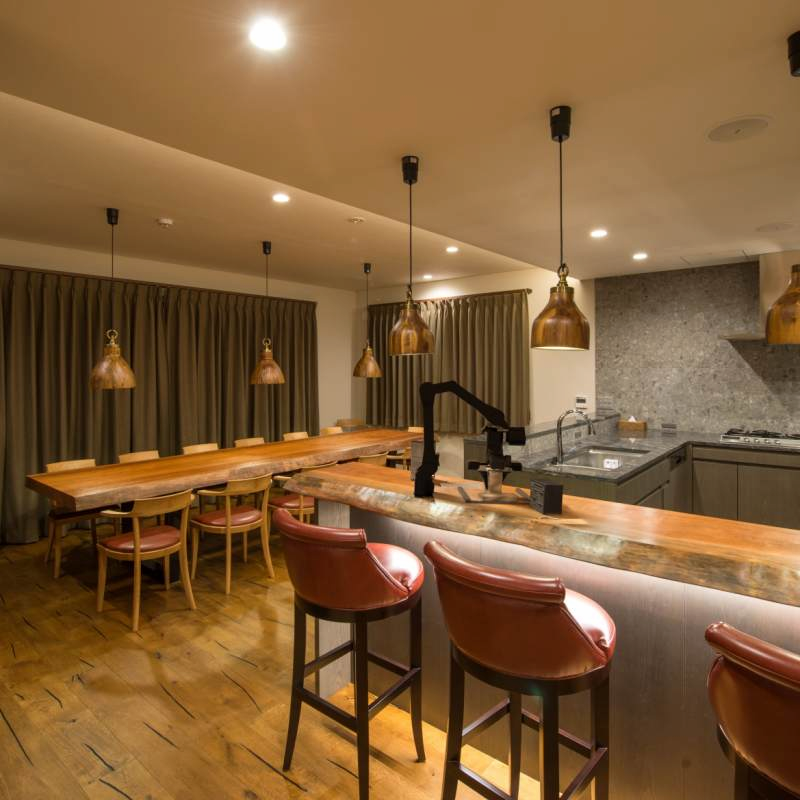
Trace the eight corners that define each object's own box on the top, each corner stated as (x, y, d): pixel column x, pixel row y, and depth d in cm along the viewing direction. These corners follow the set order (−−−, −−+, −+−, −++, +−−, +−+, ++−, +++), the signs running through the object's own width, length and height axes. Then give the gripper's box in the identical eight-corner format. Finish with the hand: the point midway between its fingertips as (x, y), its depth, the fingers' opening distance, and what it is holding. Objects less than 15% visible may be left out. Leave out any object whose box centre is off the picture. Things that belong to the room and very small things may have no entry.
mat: (443, 491, 189) (443, 490, 189) (439, 484, 203) (439, 482, 203) (487, 492, 189) (487, 491, 189) (480, 485, 203) (480, 484, 203)
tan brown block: (489, 501, 174) (490, 472, 174) (484, 495, 184) (485, 467, 184) (501, 502, 174) (502, 472, 174) (495, 495, 184) (496, 467, 184)
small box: (563, 519, 154) (564, 484, 154) (542, 519, 153) (544, 484, 153) (547, 510, 164) (548, 477, 164) (528, 510, 163) (529, 477, 163)
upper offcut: (482, 502, 167) (482, 496, 167) (478, 499, 172) (478, 493, 172) (518, 502, 168) (518, 496, 168) (512, 498, 173) (513, 492, 173)
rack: (466, 507, 166) (466, 499, 165) (457, 493, 187) (457, 486, 186) (535, 508, 166) (536, 501, 166) (519, 494, 187) (519, 488, 187)
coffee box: (422, 476, 218) (423, 438, 218) (435, 478, 214) (436, 440, 214) (409, 479, 211) (411, 440, 211) (422, 481, 207) (424, 441, 207)
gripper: (471, 447, 170) (469, 494, 171) (527, 448, 171) (525, 495, 171) (466, 443, 182) (464, 487, 182) (519, 444, 182) (517, 489, 183)
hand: (492, 490), depth 179 cm, fingers closed on tan brown block, 4 cm apart
